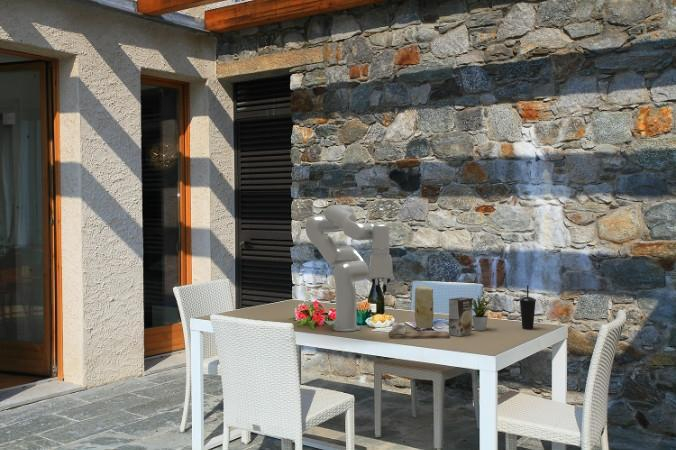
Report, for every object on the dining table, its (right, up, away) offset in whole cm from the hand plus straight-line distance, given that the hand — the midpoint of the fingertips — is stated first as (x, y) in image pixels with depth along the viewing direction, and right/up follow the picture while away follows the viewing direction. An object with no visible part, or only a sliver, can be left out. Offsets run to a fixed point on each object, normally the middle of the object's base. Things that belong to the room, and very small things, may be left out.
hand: (381, 293), depth 324 cm
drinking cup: (+69, -18, +17) cm, 73 cm away
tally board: (+17, -19, 0) cm, 25 cm away
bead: (+8, -18, +1) cm, 19 cm away
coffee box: (+36, -19, +4) cm, 41 cm away
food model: (+21, -18, +18) cm, 33 cm away
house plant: (+47, -18, +14) cm, 52 cm away
